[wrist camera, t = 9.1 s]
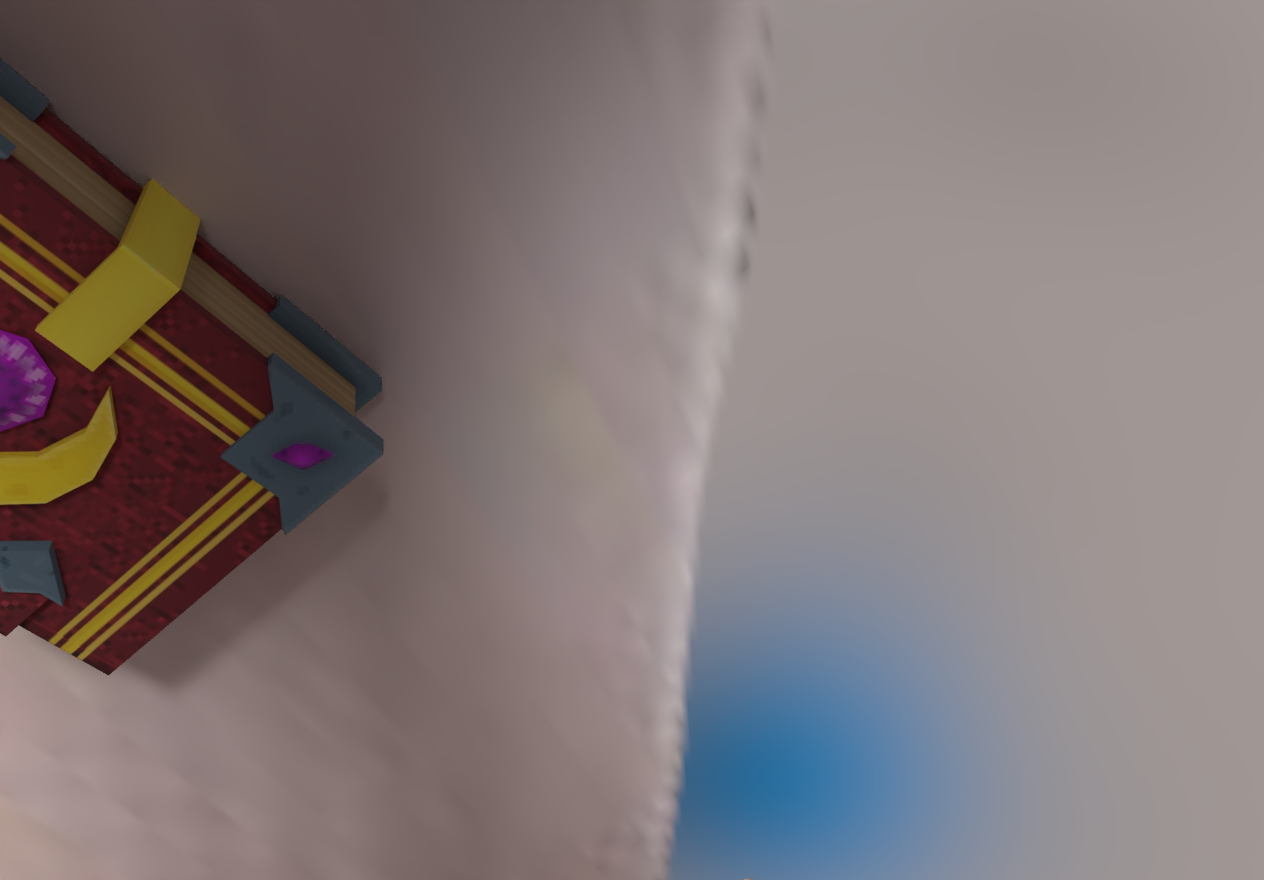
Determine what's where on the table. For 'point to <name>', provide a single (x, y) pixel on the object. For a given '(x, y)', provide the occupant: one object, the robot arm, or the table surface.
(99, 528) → the decorative book
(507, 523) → the table surface
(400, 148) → the table surface
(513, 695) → the table surface
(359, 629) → the table surface
